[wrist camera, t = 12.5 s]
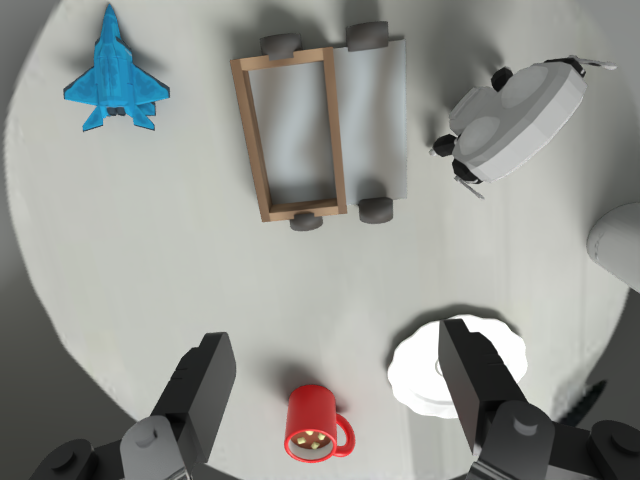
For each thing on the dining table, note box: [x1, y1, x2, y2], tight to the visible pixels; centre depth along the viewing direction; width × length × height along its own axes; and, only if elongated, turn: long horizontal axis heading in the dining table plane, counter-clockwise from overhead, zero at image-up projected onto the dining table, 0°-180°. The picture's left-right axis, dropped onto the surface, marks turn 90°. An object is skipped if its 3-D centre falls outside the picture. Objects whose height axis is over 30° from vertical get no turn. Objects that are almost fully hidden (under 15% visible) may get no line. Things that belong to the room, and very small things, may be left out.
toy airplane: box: [63, 4, 170, 132], centre depth 36 cm, size 12×10×4 cm
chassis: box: [230, 21, 407, 231], centre depth 38 cm, size 18×20×4 cm
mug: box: [284, 385, 355, 463], centre depth 55 cm, size 8×12×8 cm, turn 63°
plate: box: [388, 314, 528, 418], centre depth 54 cm, size 21×21×2 cm
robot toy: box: [429, 55, 617, 200], centre depth 32 cm, size 12×4×15 cm, turn 143°
